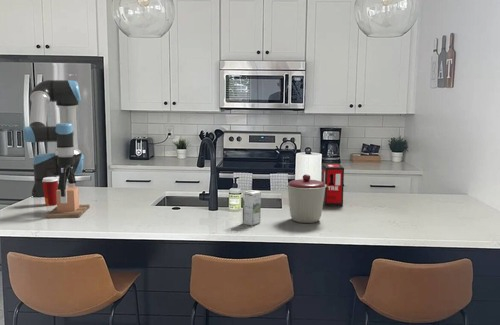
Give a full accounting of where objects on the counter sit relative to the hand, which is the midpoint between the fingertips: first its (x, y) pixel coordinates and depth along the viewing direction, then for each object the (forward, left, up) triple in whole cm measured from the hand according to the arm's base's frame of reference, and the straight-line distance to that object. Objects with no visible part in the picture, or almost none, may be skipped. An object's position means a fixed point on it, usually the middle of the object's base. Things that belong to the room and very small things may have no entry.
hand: (68, 199), depth 220 cm
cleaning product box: (-9, +133, -6) cm, 133 cm away
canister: (+25, +111, -6) cm, 114 cm away
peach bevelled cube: (0, 0, -5) cm, 5 cm away
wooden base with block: (0, 0, -6) cm, 6 cm away
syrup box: (+28, +86, -6) cm, 90 cm away
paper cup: (-18, -13, -6) cm, 23 cm away
